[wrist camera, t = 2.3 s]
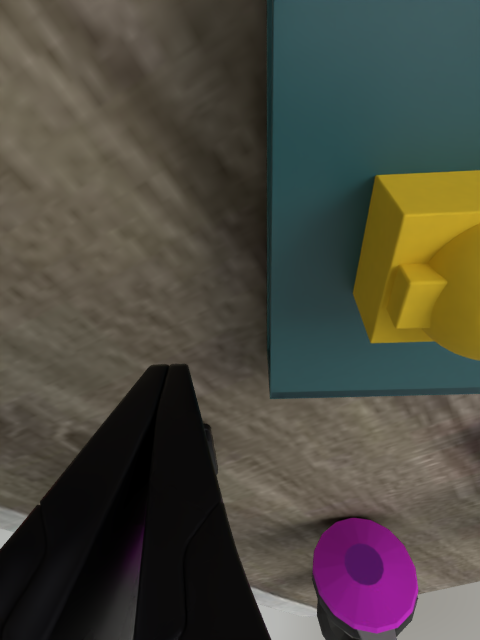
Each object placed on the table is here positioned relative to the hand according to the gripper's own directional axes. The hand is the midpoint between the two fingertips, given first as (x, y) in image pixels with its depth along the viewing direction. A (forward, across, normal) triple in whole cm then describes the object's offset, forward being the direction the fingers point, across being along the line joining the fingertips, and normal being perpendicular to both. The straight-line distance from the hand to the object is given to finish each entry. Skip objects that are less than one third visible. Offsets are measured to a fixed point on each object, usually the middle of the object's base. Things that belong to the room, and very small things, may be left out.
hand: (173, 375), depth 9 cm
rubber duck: (+6, -8, 0) cm, 10 cm away
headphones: (+9, -12, +40) cm, 42 cm away
